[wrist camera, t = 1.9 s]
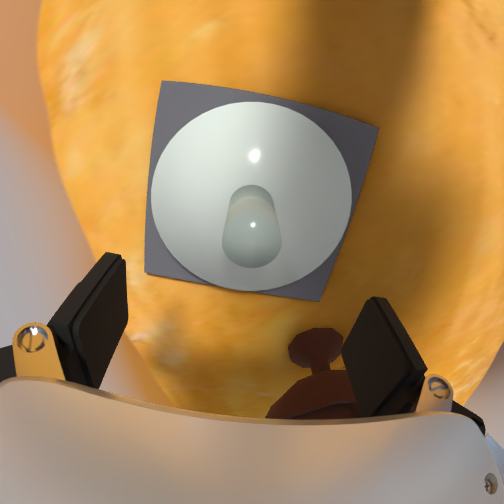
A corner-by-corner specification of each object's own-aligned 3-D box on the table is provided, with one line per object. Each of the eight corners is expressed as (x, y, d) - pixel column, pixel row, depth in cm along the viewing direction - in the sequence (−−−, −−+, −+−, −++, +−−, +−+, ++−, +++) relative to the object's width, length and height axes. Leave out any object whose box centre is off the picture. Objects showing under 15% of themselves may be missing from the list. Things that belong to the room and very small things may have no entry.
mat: (164, 81, 15) (161, 80, 14) (375, 127, 16) (379, 128, 16) (146, 268, 22) (144, 272, 21) (317, 297, 23) (319, 301, 23)
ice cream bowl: (237, 336, 25) (231, 500, 12) (354, 285, 23) (423, 452, 9) (286, 390, 30) (297, 513, 17) (379, 353, 27) (422, 476, 14)
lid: (168, 88, 15) (132, 83, 10) (370, 132, 16) (416, 147, 11) (150, 267, 21) (125, 318, 16) (315, 295, 22) (330, 349, 17)
